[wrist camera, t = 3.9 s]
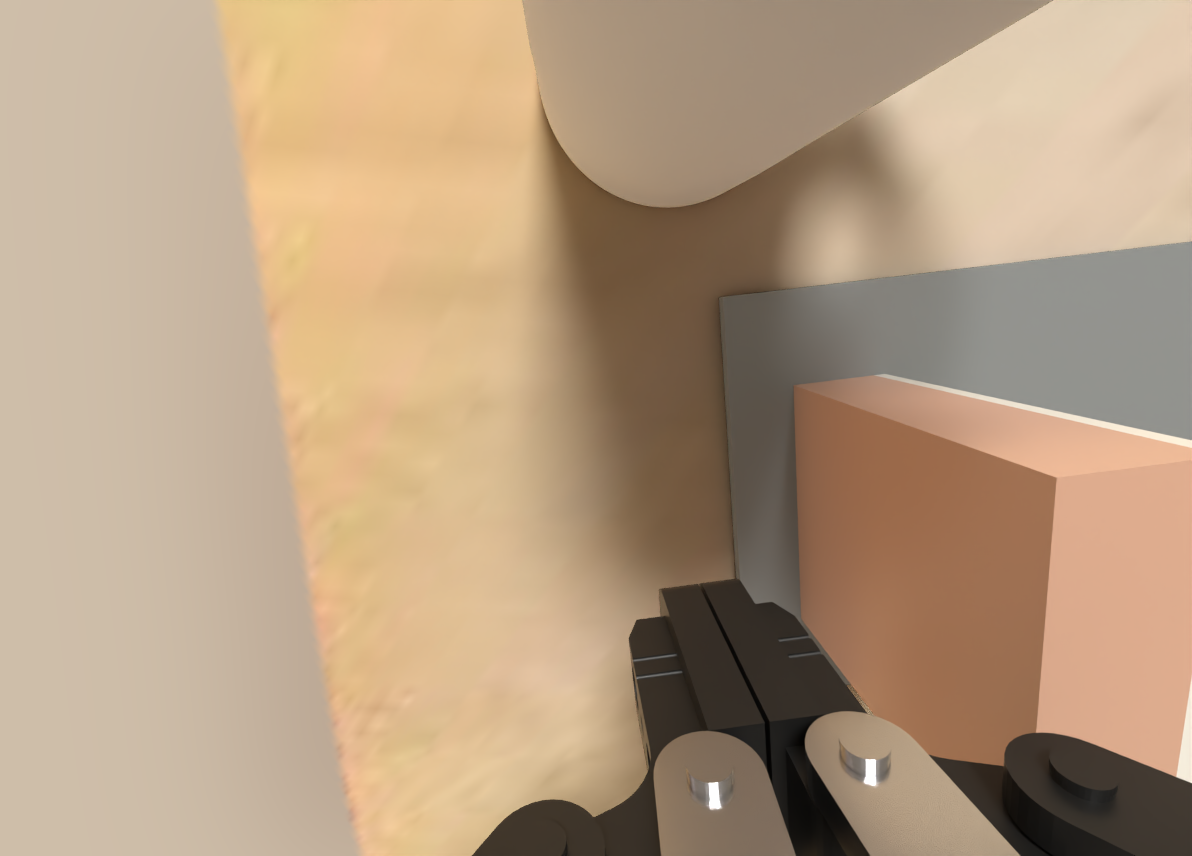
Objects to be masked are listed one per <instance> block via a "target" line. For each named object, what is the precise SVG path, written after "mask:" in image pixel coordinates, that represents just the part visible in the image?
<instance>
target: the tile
mask: <svg viewBox="0 0 1192 856" xmlns="http://www.w3.org/2000/svg"><path fill="white" fill-rule="evenodd" d="M794 416H795V447H796V477H797V508H798V539H799V570H800V601H801V619H802V620H803V622H804V623H805V624H806V626H807V627H808V628H809V630H810V631H811V632H812V634H813V635H814V636H815V638H816V639H817V640H818V642H819V643H820V644H821V645H822V647H823V648H824V649H825V651H826V652H827V653H828V655H829V656H830V657H831V659H832V660H833V661H834V663H835V664H836V665H837V667H838V668H839V669H840V671H841V672H842V673H843V675H844V676H845V677H846V678H847V680H848V681H849V682H850V684H851V685H852V686H853V688H854V689H855V690H856V692H857V693H858V694H859V696H860V697H861V698H862V700H863V701H864V702H865V704H866V705H867V706H868V707H869V709H870V710H871V711H872V713H873V714H874V715H875V716H877V717H880V718H882V719H884V720H887V721H889V722H891V723H893V724H894V725H896V726H898V727H900V728H901V729H902V730H904V731H905V732H906V733H908V734H909V735H910V736H911V737H912V738H913V739H914V740H915V741H916V742H917V743H918V744H919V745H920V746H921V747H922V748H923V749H924V750H925V752H926V753H927V754H929V755H932V756H936V757H940V758H946V759H952V760H960V761H968V762H976V763H983V764H991V765H999V766H1004V753H1005V750H1006V747H1007V745H1008V744H1009V742H1010V741H1012V740H1013V739H1014V738H1016V737H1018V736H1021V735H1024V734H1029V733H1041V732H1043V733H1055V734H1061V735H1066V736H1070V737H1074V738H1077V739H1081V740H1084V741H1086V742H1089V743H1092V744H1095V745H1097V746H1100V747H1102V748H1105V749H1107V750H1110V751H1112V752H1115V753H1117V754H1120V755H1122V756H1125V757H1127V758H1130V759H1132V760H1135V761H1137V762H1140V763H1142V764H1145V765H1147V766H1150V767H1152V768H1155V769H1157V770H1160V771H1162V772H1165V773H1168V774H1170V775H1173V776H1175V777H1178V778H1180V779H1183V780H1185V781H1188V782H1190V783H1192V440H1187V439H1183V438H1178V437H1174V436H1169V435H1164V434H1160V433H1155V432H1151V431H1146V430H1141V429H1137V428H1132V427H1127V426H1123V425H1118V424H1114V423H1109V422H1104V421H1100V420H1095V419H1091V418H1086V417H1081V416H1077V415H1072V414H1067V413H1063V412H1058V411H1054V410H1049V409H1044V408H1040V407H1035V406H1031V405H1026V404H1021V403H1017V402H1012V401H1007V400H1003V399H998V398H994V397H989V396H984V395H980V394H975V393H971V392H966V391H961V390H957V389H952V388H947V387H943V386H938V385H934V384H929V383H924V382H920V381H915V380H911V379H906V378H901V377H897V376H892V375H887V374H880V375H872V376H864V377H856V378H848V379H840V380H832V381H824V382H816V383H807V384H799V385H794Z"/></svg>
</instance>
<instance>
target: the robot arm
mask: <svg viewBox="0 0 1192 856" xmlns="http://www.w3.org/2000/svg"><path fill="white" fill-rule="evenodd" d="M659 602H660V613H661V617H655V618H647V619H640V620H636V623H635V625H634V627H633V630H632V632H631V634H630V637H629V645H630V654H631V663H632V672H633V681H634V690H635V699H636V708H637V714H638V720H639V726H640V731H641V736H642V742H643V748H644V753H645V759H646V765H647V770H648V773H647V775H646V777H645V779H644V781H643V783H642V784H641V786H640V787H639V788H638V790H637V791H636V792H635V793H634V794H633V795H632V796H631V797H629V798H628V799H627V800H626V801H624V802H623V803H621V804H620V805H618V806H616V807H614V808H613V809H611V810H608V811H606V812H604V813H602V814H600V815H598V816H596V817H594V818H593V817H592V815H591V814H590V813H589V812H588V811H586V810H585V809H583V808H582V807H580V806H578V805H576V804H574V803H572V802H568V801H563V800H542V801H538V802H534V803H531V804H529V805H526V806H524V807H522V808H520V809H518V810H517V811H515V812H513V813H512V814H511V815H509V816H508V817H507V818H505V819H504V820H503V821H502V822H501V823H500V824H499V825H498V826H497V827H496V828H495V830H494V831H493V832H492V833H491V834H490V835H489V837H488V838H487V839H486V840H485V841H484V842H483V844H482V845H481V846H480V847H479V848H478V849H477V850H476V852H475V853H474V854H473V855H472V856H1192V783H1190V782H1188V781H1185V780H1183V779H1180V778H1178V777H1175V776H1173V775H1170V774H1168V773H1165V772H1162V771H1160V770H1157V769H1155V768H1152V767H1150V766H1147V765H1145V764H1142V763H1140V762H1137V761H1135V760H1132V759H1130V758H1127V757H1125V756H1122V755H1120V754H1117V753H1115V752H1112V751H1110V750H1107V749H1105V748H1102V747H1100V746H1097V745H1095V744H1092V743H1089V742H1086V741H1084V740H1081V739H1077V738H1074V737H1070V736H1066V735H1061V734H1055V733H1043V732H1041V733H1029V734H1024V735H1021V736H1018V737H1016V738H1014V739H1013V740H1012V741H1010V742H1009V744H1008V745H1007V747H1006V750H1005V753H1004V766H999V765H991V764H983V763H976V762H968V761H960V760H952V759H946V758H940V757H936V756H932V755H929V754H927V753H926V752H925V750H924V749H923V748H922V747H921V746H920V745H919V744H918V743H917V742H916V741H915V740H914V739H913V738H912V737H911V736H910V735H909V734H908V733H906V732H905V731H904V730H902V729H901V728H900V727H898V726H896V725H894V724H893V723H891V722H889V721H887V720H884V719H882V718H880V717H877V716H874V715H870V714H867V713H866V712H865V710H864V709H863V708H862V706H861V705H860V703H859V702H858V701H857V699H856V698H855V697H854V695H853V694H852V693H851V691H850V690H849V689H848V687H847V686H846V685H845V683H844V682H843V680H842V679H841V678H840V676H839V675H838V674H837V672H836V671H835V670H834V668H833V667H832V666H831V664H830V663H829V661H828V660H827V659H826V657H825V656H824V655H823V654H822V655H821V652H820V649H819V648H818V647H817V645H816V644H815V643H814V641H813V640H812V638H809V634H808V633H807V632H806V630H805V629H804V628H803V626H802V625H801V624H800V622H799V621H798V619H797V618H796V617H795V616H794V615H793V614H791V613H789V612H788V611H786V610H785V609H783V608H781V607H780V606H778V605H777V604H775V603H773V602H766V603H759V604H755V603H754V601H753V600H752V598H751V596H750V595H749V593H748V592H747V590H746V589H745V587H744V585H743V584H742V582H741V581H740V580H739V579H731V580H723V581H716V582H708V583H701V584H699V585H698V584H694V585H686V586H679V587H671V588H664V589H659Z"/></svg>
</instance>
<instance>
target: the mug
mask: <svg viewBox="0 0 1192 856" xmlns="http://www.w3.org/2000/svg"><path fill="white" fill-rule="evenodd" d="M1051 1H1053V0H522V2H523V8H524V15H525V21H526V27H527V33H528V39H529V44H530V49H531V53H532V57H533V61H534V65H535V70H536V75H537V81H538V86H539V91H540V96H541V100H542V103H543V107H544V110H545V113H546V116H547V119H548V121H549V124H550V126H551V128H552V131H553V133H554V135H555V137H556V138H557V140H558V142H559V144H560V145H561V147H562V148H563V150H564V151H565V153H566V154H567V156H568V157H569V158H570V159H571V161H572V162H573V163H574V164H575V165H576V166H577V168H578V169H579V170H580V171H581V172H582V173H583V174H584V175H586V176H587V177H588V178H589V179H590V180H591V181H593V182H594V183H595V184H597V185H598V186H599V187H601V188H602V189H604V190H606V191H607V192H609V193H611V194H613V195H615V196H617V197H619V198H622V199H624V200H627V201H630V202H633V203H636V204H640V205H645V206H651V207H665V208H669V207H682V206H688V205H693V204H697V203H700V202H703V201H706V200H709V199H712V198H714V197H716V196H718V195H721V194H723V193H724V192H726V191H728V190H730V189H732V188H734V187H736V186H738V185H739V184H741V183H743V182H745V181H747V180H749V179H751V178H752V177H754V176H756V175H758V174H760V173H762V172H763V171H765V170H767V169H768V168H770V167H772V166H774V165H775V164H777V163H778V162H780V161H782V160H783V159H785V158H787V157H788V156H790V155H792V154H793V153H795V152H797V151H798V150H800V149H802V148H803V147H805V146H807V145H808V144H810V143H812V142H813V141H815V140H817V139H818V138H820V137H822V136H823V135H825V134H827V133H828V132H830V131H832V130H833V129H835V128H837V127H839V126H840V125H842V124H844V123H845V122H847V121H849V120H850V119H852V118H854V117H855V116H857V115H859V114H861V113H862V112H864V111H866V110H867V109H869V108H871V107H872V106H874V105H876V104H878V103H879V102H881V101H883V100H884V99H886V98H888V97H889V96H891V95H893V94H895V93H896V92H898V91H900V90H901V89H903V88H905V87H906V86H908V85H910V84H912V83H913V82H915V81H917V80H918V79H920V78H922V77H923V76H925V75H927V74H929V73H930V72H932V71H934V70H935V69H937V68H939V67H941V66H942V65H944V64H946V63H947V62H949V61H951V60H952V59H954V58H956V57H958V56H959V55H961V54H963V53H964V52H966V51H968V50H969V49H971V48H973V47H975V46H976V45H978V44H980V43H981V42H983V41H985V40H987V39H988V38H990V37H992V36H993V35H995V34H997V33H998V32H1000V31H1002V30H1004V29H1005V28H1007V27H1009V26H1010V25H1012V24H1014V23H1015V22H1017V21H1019V20H1021V19H1022V18H1024V17H1026V16H1027V15H1029V14H1031V13H1032V12H1034V11H1036V10H1038V9H1039V8H1041V7H1043V6H1044V5H1046V4H1048V3H1049V2H1051Z"/></svg>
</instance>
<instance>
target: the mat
mask: <svg viewBox="0 0 1192 856" xmlns="http://www.w3.org/2000/svg"><path fill="white" fill-rule="evenodd" d="M719 307H720V323H721V340H722V356H723V372H724V389H725V405H726V421H727V438H728V454H729V470H730V486H731V503H732V519H733V535H734V552H735V568H736V579H739V580H740V581H741V582H742V584H743V585H744V587H745V589H746V590H747V592H748V593H749V595H750V596H751V598H752V600H753V601H754V603H755V604H759V603H766V602H773V603H775V604H777V605H778V606H780V607H781V608H783V609H785V610H786V611H788V612H789V613H791V614H793V615H794V616H795V617H796V618H797V619H798V621H799V622H800V624H801V625H802V626H803V628H804V629H805V630H806V632H807V633H808V634H809V638H812V640H813V641H814V643H815V644H816V645H817V647H818V648H819V649H820V652H821V655H822V654H823V655H824V656H825V657H826V659H827V660H828V661H829V663H830V664H831V666H832V667H833V668H834V670H835V671H836V672H837V674H838V675H839V676H840V678H841V679H842V680H843V682H844V683H845V685H851V684H850V682H849V681H848V680H847V678H846V677H845V676H844V675H843V673H842V672H841V671H840V669H839V668H838V667H837V665H836V664H835V663H834V661H833V660H832V659H831V657H830V656H829V655H828V653H827V652H826V651H825V649H824V648H823V647H822V645H821V644H820V643H819V642H818V640H817V639H816V638H815V636H814V635H813V634H812V632H811V631H810V630H809V628H808V627H807V626H806V624H805V623H804V622H803V620H802V619H801V601H800V570H799V539H798V508H797V477H796V447H795V416H794V385H799V384H807V383H816V382H824V381H832V380H840V379H848V378H856V377H864V376H872V375H880V374H887V375H892V376H897V377H901V378H906V379H911V380H915V381H920V382H924V383H929V384H934V385H938V386H943V387H947V388H952V389H957V390H961V391H966V392H971V393H975V394H980V395H984V396H989V397H994V398H998V399H1003V400H1007V401H1012V402H1017V403H1021V404H1026V405H1031V406H1035V407H1040V408H1044V409H1049V410H1054V411H1058V412H1063V413H1067V414H1072V415H1077V416H1081V417H1086V418H1091V419H1095V420H1100V421H1104V422H1109V423H1114V424H1118V425H1123V426H1127V427H1132V428H1137V429H1141V430H1146V431H1151V432H1155V433H1160V434H1164V435H1169V436H1174V437H1178V438H1183V439H1187V440H1192V242H1184V243H1176V244H1167V245H1159V246H1150V247H1142V248H1133V249H1125V250H1116V251H1108V252H1099V253H1091V254H1082V255H1074V256H1065V257H1057V258H1048V259H1040V260H1031V261H1023V262H1014V263H1006V264H997V265H989V266H980V267H972V268H963V269H955V270H946V271H938V272H929V273H921V274H912V275H904V276H895V277H887V278H879V279H870V280H862V281H853V282H845V283H836V284H828V285H819V286H811V287H802V288H794V289H785V290H777V291H768V292H760V293H751V294H743V295H734V296H726V297H719Z"/></svg>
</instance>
